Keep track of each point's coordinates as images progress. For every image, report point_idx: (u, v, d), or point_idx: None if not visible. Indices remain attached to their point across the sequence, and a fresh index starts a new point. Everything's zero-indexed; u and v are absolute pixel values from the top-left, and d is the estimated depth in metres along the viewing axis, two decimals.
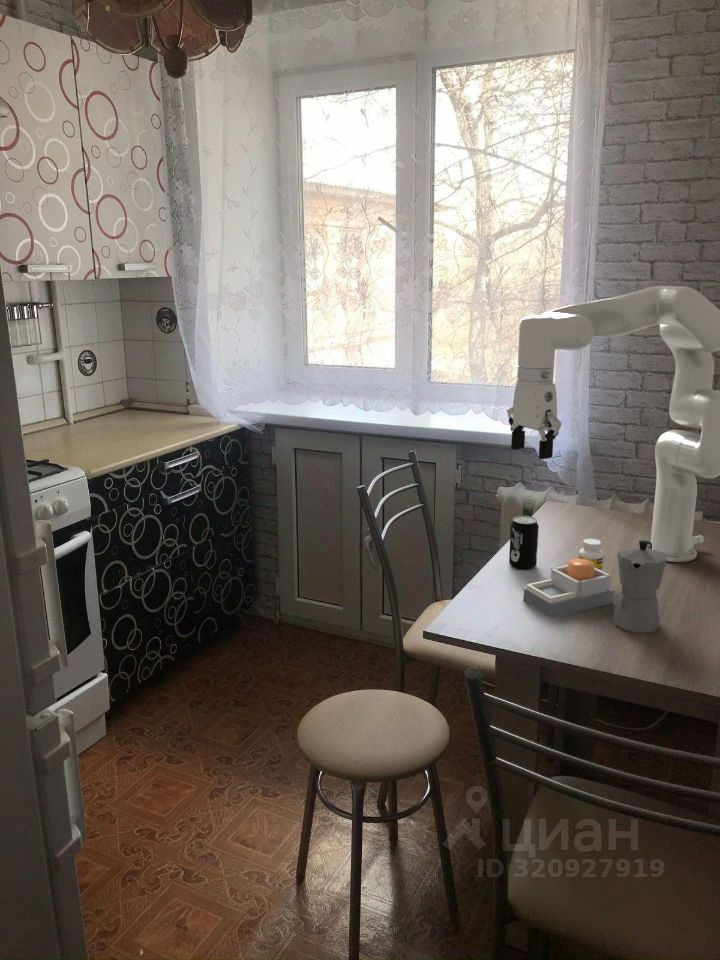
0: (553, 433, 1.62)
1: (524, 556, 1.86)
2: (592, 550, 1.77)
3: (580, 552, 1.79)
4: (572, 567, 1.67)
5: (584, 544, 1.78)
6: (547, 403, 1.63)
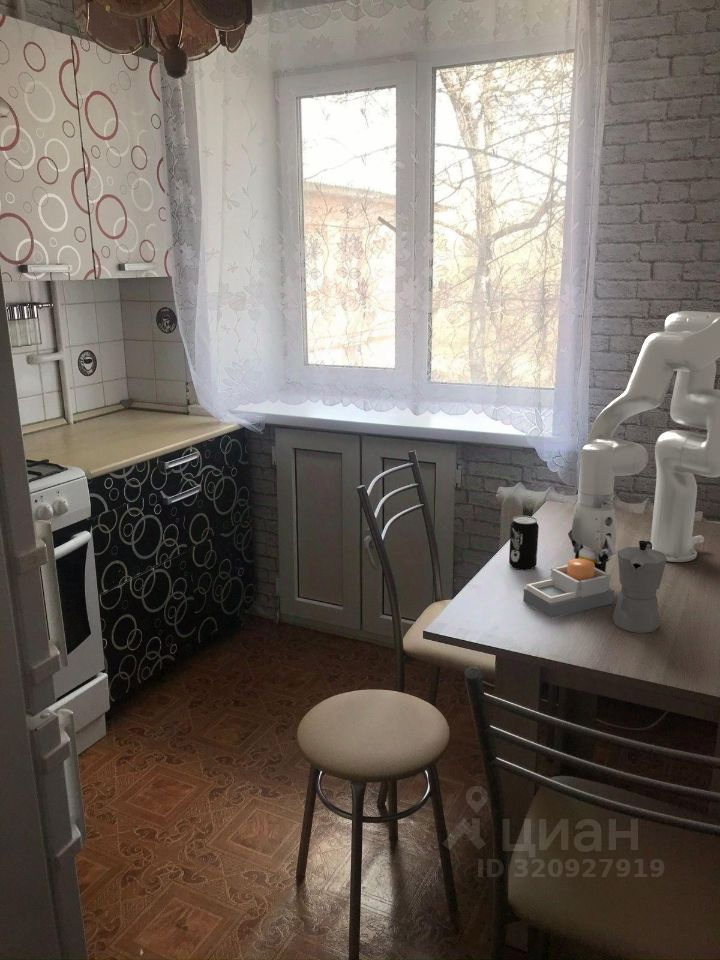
0: (607, 558, 1.74)
1: (524, 556, 1.86)
2: (592, 550, 1.77)
3: (580, 552, 1.79)
4: (572, 567, 1.67)
5: None
6: (607, 527, 1.73)
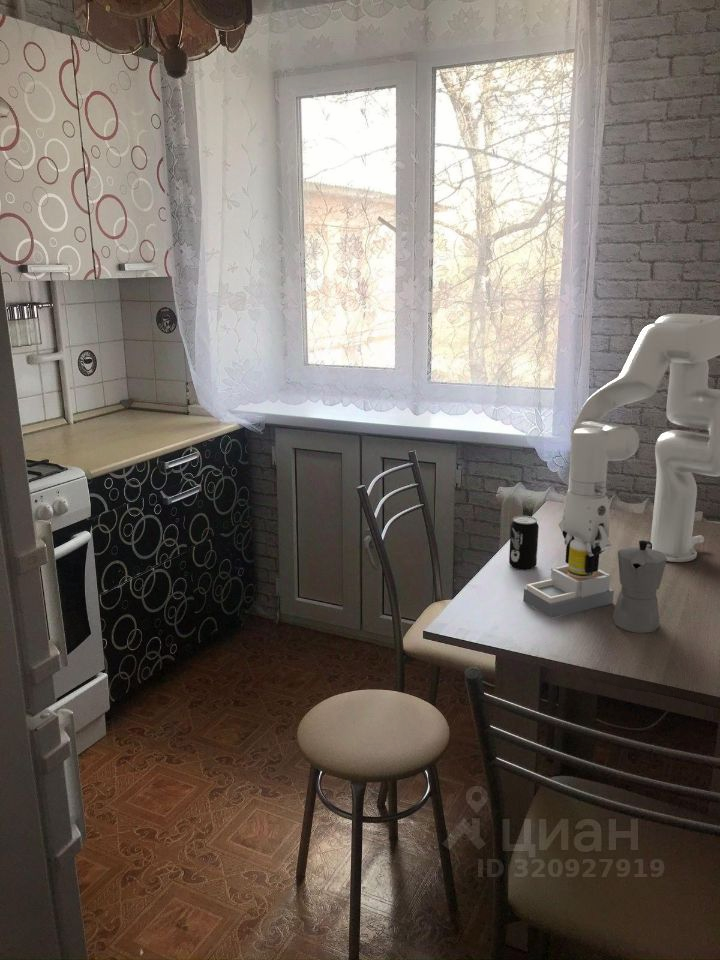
0: (600, 550, 1.62)
1: (524, 556, 1.86)
2: (584, 541, 1.66)
3: (571, 544, 1.68)
4: None
5: None
6: (600, 517, 1.61)
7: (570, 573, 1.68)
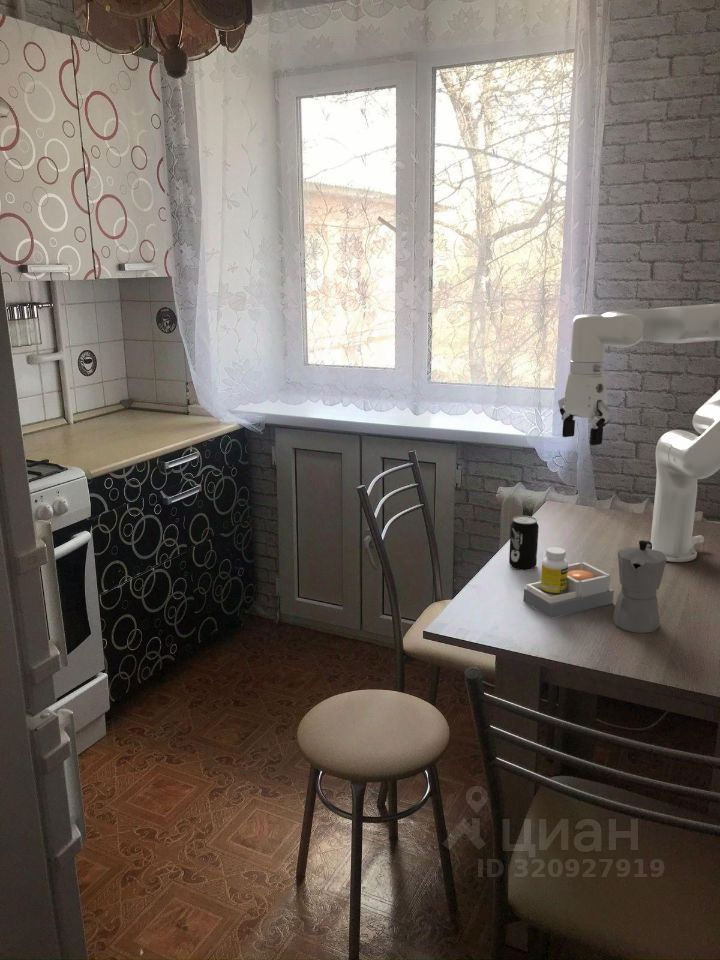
0: (604, 421, 1.78)
1: (524, 556, 1.86)
2: (555, 559, 1.63)
3: (543, 562, 1.65)
4: None
5: (547, 553, 1.64)
6: (598, 394, 1.78)
7: (542, 591, 1.66)
